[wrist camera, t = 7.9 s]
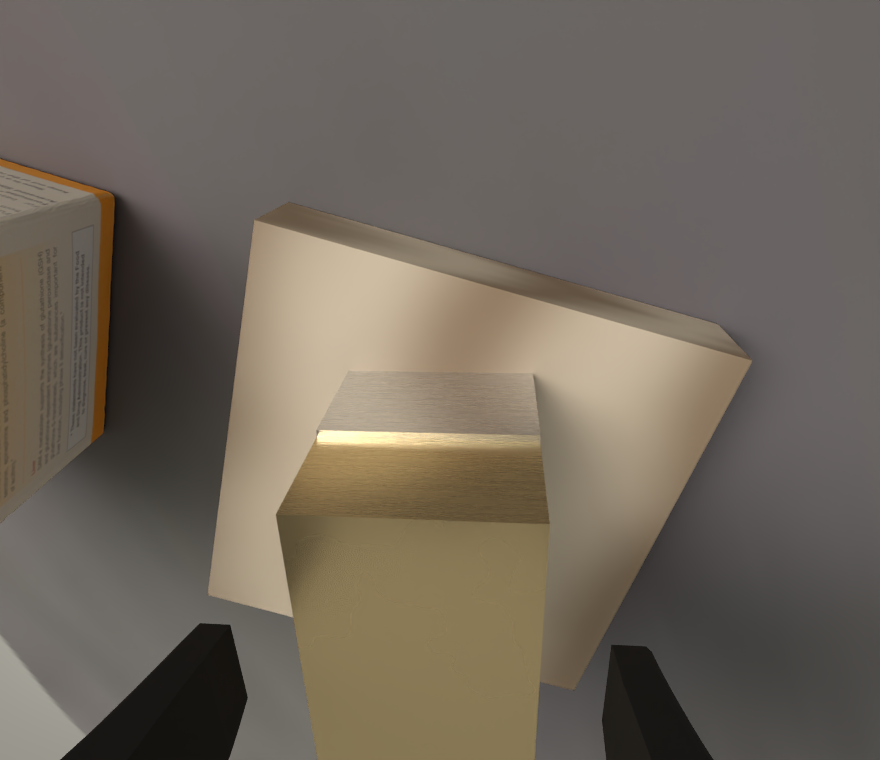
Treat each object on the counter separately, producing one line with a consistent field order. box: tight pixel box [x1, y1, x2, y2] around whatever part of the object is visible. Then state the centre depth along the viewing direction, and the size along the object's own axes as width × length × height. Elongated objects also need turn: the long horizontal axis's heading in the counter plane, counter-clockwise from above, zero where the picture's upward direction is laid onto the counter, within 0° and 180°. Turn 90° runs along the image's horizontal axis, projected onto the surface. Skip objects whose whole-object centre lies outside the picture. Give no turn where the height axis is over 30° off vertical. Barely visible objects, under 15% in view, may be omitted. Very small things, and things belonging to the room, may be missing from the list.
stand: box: [208, 202, 752, 691], centre depth 18 cm, size 12×12×2 cm
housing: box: [276, 371, 550, 760], centre depth 14 cm, size 8×5×6 cm, turn 1°
